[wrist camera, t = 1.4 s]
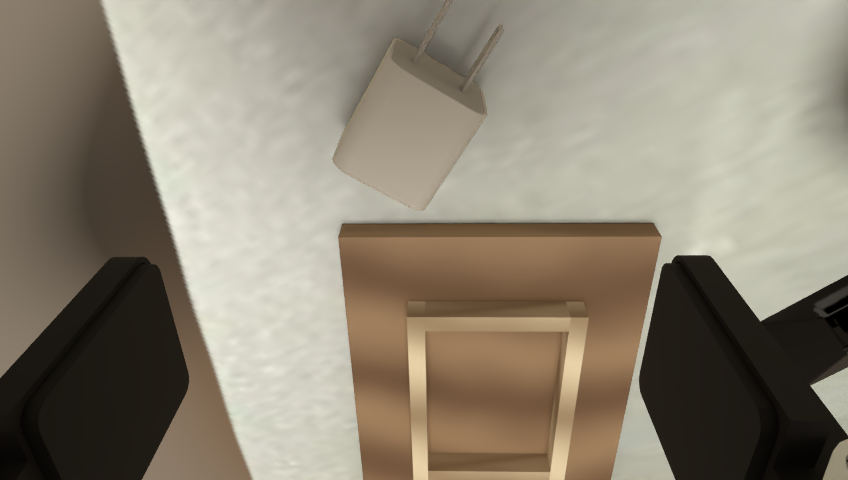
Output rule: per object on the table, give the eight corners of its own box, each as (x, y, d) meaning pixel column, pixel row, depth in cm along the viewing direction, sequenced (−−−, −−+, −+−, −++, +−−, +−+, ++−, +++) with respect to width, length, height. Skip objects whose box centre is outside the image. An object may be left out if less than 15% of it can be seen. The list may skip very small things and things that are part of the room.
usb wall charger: (345, 127, 25) (329, 165, 22) (428, -28, 22) (426, -13, 19) (427, 172, 26) (425, 215, 23) (518, 29, 23) (532, 54, 20)
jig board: (342, 224, 28) (334, 251, 25) (653, 223, 27) (670, 251, 25) (367, 484, 37) (363, 520, 35) (600, 486, 36) (610, 522, 34)
